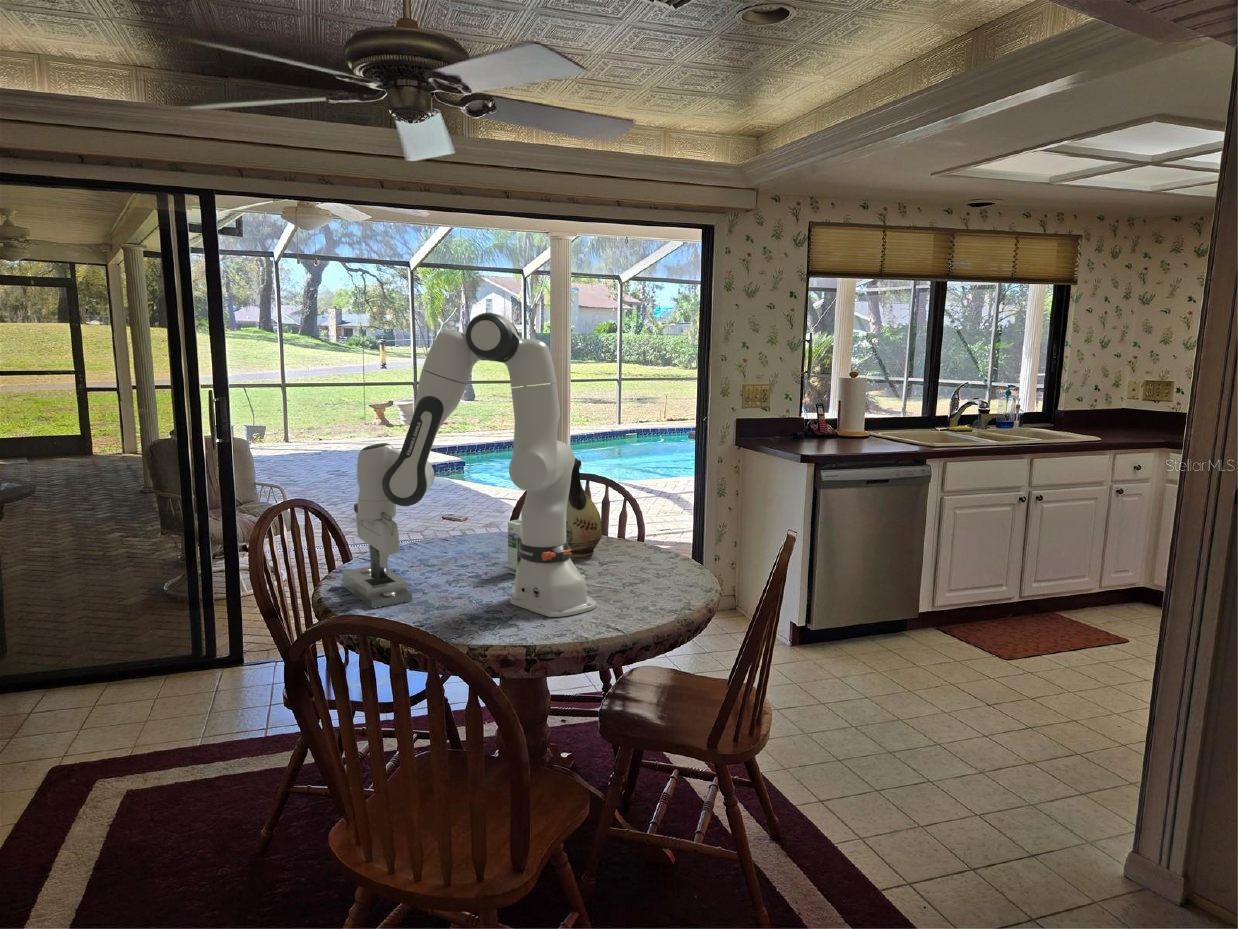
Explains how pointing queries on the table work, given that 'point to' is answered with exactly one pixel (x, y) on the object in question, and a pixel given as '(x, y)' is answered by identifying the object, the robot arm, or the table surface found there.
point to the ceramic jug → (581, 518)
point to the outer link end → (371, 582)
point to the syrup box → (514, 545)
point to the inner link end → (385, 598)
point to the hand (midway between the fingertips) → (379, 564)
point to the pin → (376, 565)
